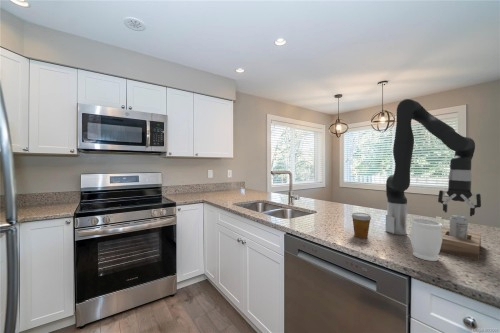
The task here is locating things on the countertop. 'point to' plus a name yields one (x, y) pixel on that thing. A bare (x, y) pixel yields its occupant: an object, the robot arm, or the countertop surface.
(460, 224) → the energy drink can
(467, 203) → the robot arm
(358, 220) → the disposable coffee cup
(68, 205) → the countertop surface
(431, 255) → the jar
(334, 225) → the countertop surface
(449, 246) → the cutout shelf
